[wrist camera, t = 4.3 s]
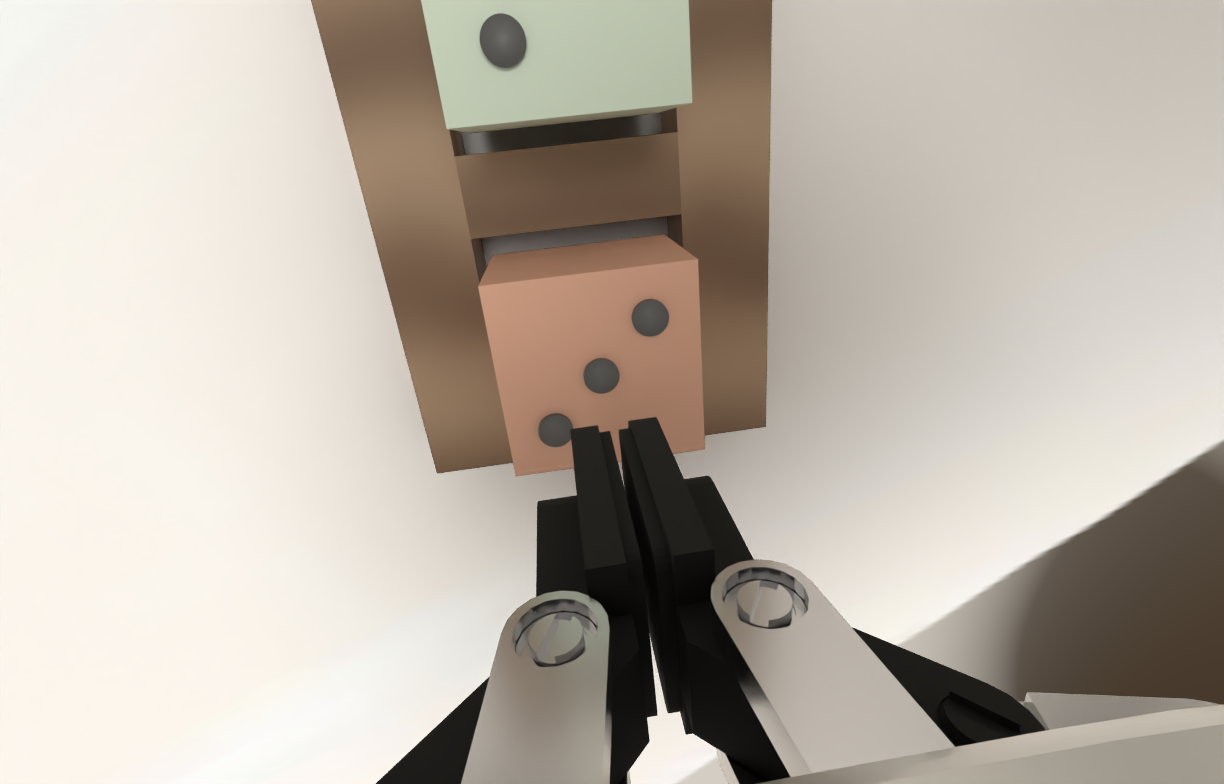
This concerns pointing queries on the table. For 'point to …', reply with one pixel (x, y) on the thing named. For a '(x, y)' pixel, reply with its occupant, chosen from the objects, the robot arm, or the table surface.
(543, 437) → the tile three pip
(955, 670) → the robot arm
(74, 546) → the table surface
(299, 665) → the table surface
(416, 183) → the tray
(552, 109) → the tile two pip
